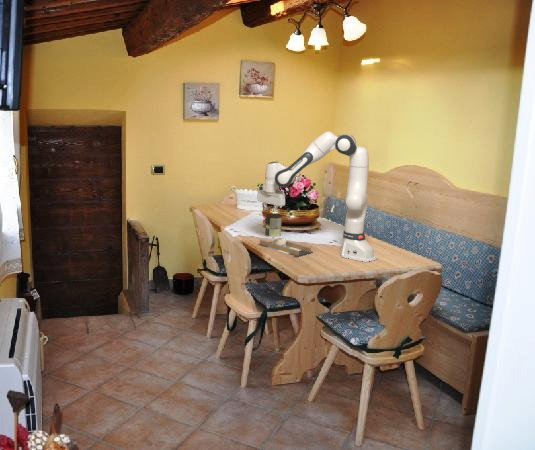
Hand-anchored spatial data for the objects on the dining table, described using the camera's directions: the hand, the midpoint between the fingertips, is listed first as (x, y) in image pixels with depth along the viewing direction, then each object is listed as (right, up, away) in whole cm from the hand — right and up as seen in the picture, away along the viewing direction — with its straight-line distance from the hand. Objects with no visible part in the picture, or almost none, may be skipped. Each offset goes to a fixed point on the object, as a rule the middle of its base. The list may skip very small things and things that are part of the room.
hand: (270, 211), depth 327 cm
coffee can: (+2, -16, +27) cm, 32 cm away
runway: (+9, -23, -4) cm, 25 cm away
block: (+5, -21, -1) cm, 22 cm away
